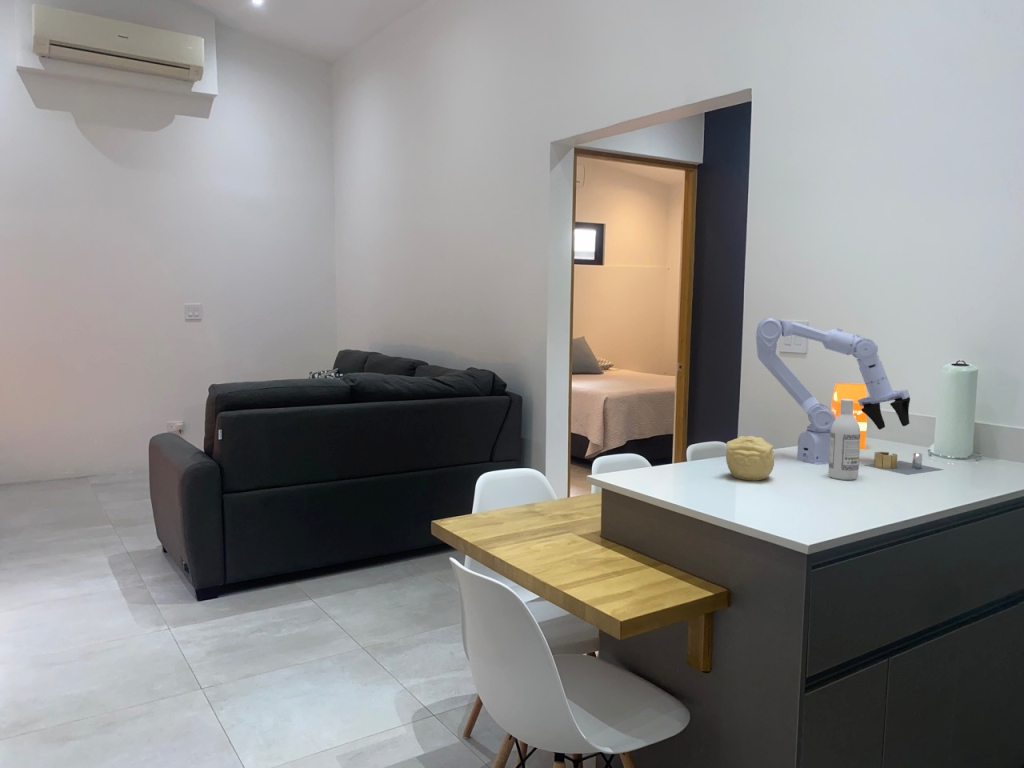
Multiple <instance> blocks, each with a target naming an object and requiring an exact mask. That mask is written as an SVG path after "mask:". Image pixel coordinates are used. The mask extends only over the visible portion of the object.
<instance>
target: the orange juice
mask: <svg viewBox="0 0 1024 768" xmlns="http://www.w3.org/2000/svg"><path fill="white" fill-rule="evenodd" d="M834 385H835V386H834V389H833V394H832V398H831V409H830V410H831V411H832V412H833V413H834V415H835V419H836V418H837V417H838V416H839V414H840V407H841V399H851V400H853V401H854V402H853V413H852V414H853V415H854V417H855V419H856V420H857V422H858V424H859V427H860V434H861V435H860V449H864V450H866V438H867V426H868V425H867V423H868V421H867V420H868V416H867V415H866V414H865V413H864V412H862V410H861V409H862V408H864V406H861V407H860V405H859V402H858V400H859V399H861V398H865V397H868V396H867V387H866V385H865V383H849V382H848V383H846V382H845V383H844V382H842V383H840V382H839V383H838V382H837V383H836V382H835V384H834Z"/></svg>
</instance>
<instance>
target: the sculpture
mask: <svg viewBox="0 0 1024 768" xmlns="http://www.w3.org/2000/svg"><path fill="white" fill-rule="evenodd" d="M773 448H774V445H772V444H771V443H769V442H767V441H766V440H765V439H764V438H763V437H757V436H754V435H748V436H744V435H740V436H738V437H737V438H734V439H732V440H729V441H727V442H726V454H725V460H726V465H727V468H728V470H729V472H730V473H731V475H732V476H733V477H735V478H737V479H739V478H740V479H739V480H744V481H745V480H746V481H762V480H764V479H766V478H768V477H769V476H770V475H771V473H772V471H773V469H774V466H775V455H774V451H773Z"/></svg>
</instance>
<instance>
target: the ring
mask: <svg viewBox="0 0 1024 768" xmlns="http://www.w3.org/2000/svg"><path fill="white" fill-rule="evenodd" d="M873 455H874V457H873V464H874V466H875V467H878V468H883V469H896V468H897V461H898V454H897V453H891V454H890V453H889V452H888V451H875V452H874V454H873ZM878 468H877V469H878Z"/></svg>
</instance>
